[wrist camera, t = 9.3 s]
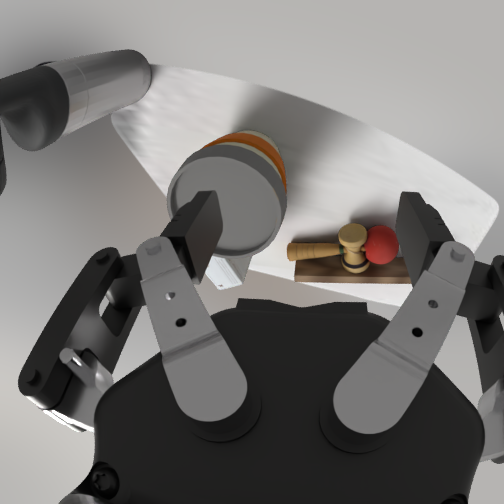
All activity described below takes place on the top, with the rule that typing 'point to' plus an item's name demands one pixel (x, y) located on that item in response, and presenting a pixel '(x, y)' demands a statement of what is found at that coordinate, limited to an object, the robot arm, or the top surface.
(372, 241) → the kendama
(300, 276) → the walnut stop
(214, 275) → the skincare box
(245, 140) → the reusable coffee cup
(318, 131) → the top surface
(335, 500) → the robot arm
